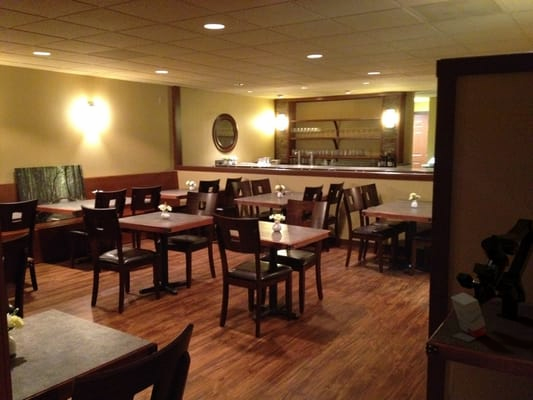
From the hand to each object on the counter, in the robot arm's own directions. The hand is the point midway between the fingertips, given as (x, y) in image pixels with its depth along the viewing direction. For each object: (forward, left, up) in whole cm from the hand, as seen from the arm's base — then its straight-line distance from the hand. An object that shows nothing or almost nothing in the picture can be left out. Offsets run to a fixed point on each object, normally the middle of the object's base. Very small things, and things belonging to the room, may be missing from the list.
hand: (475, 306), depth 149 cm
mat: (+6, 0, -9) cm, 11 cm away
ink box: (0, 0, -8) cm, 8 cm away
